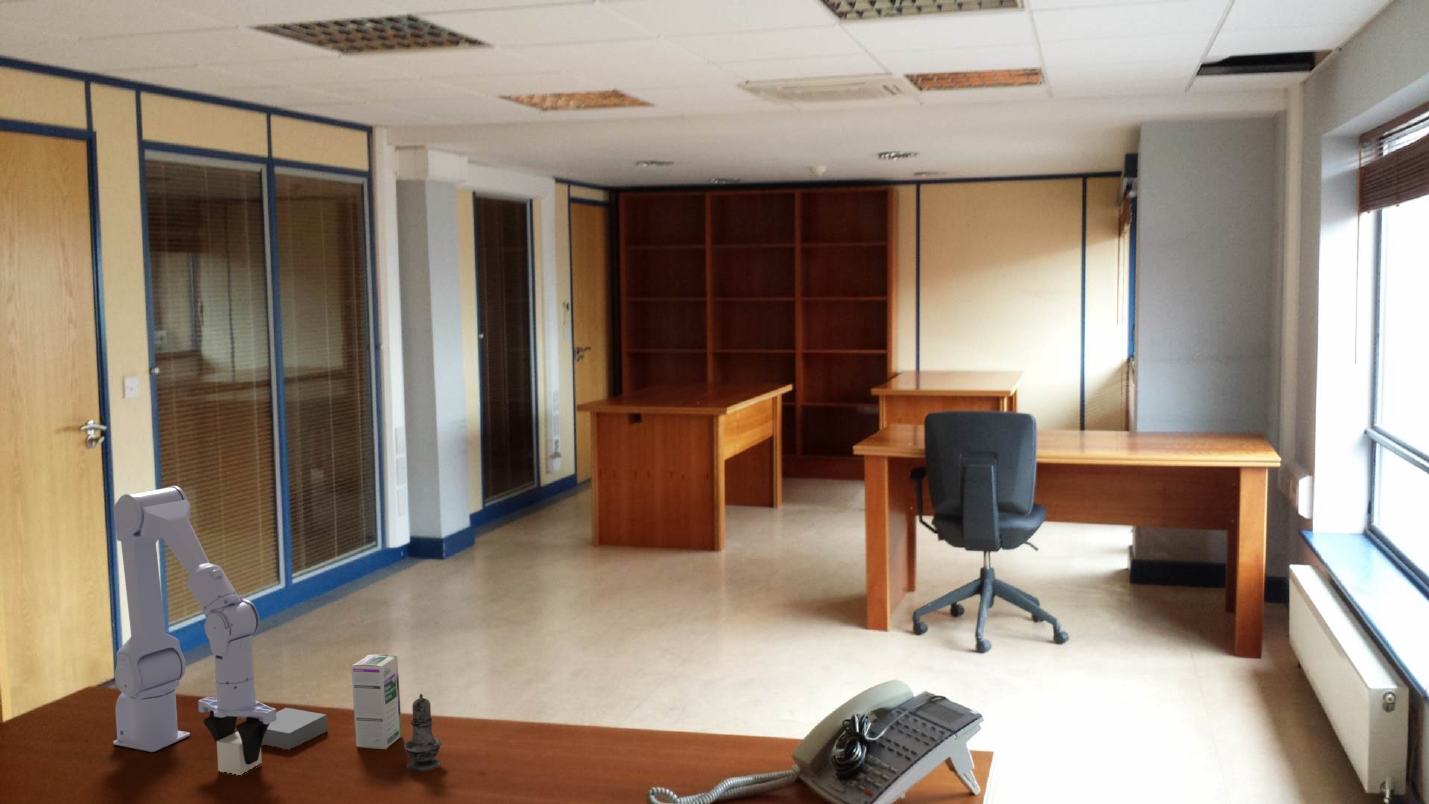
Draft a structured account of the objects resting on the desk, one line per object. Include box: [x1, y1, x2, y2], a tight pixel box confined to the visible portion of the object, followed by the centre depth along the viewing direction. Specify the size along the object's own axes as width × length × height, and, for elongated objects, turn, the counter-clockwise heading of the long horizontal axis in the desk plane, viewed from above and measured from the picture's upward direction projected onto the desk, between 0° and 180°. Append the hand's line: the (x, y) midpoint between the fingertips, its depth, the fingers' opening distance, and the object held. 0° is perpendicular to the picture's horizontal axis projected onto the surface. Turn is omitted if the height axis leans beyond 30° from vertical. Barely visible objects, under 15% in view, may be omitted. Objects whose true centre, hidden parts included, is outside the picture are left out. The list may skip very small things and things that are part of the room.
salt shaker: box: [403, 693, 442, 773], centre depth 191 cm, size 6×6×12 cm
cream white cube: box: [216, 731, 263, 776], centre depth 191 cm, size 5×5×5 cm
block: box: [262, 707, 328, 749], centre depth 204 cm, size 9×9×3 cm
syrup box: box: [350, 653, 403, 750], centre depth 200 cm, size 6×6×14 cm
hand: (239, 759), depth 191 cm, fingers closed on cream white cube, 5 cm apart
